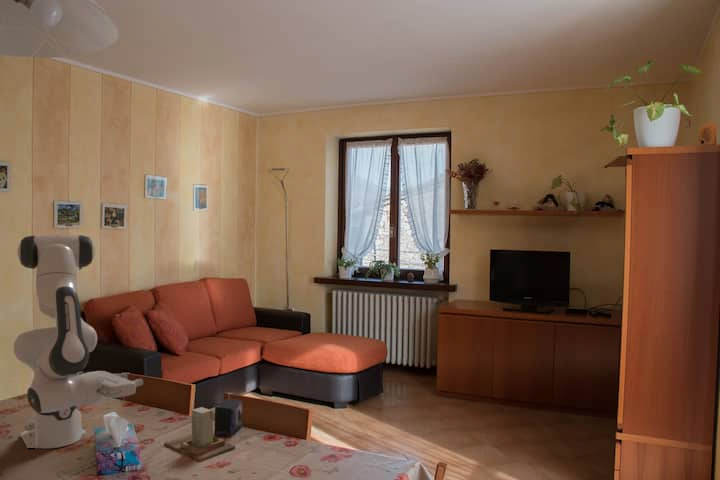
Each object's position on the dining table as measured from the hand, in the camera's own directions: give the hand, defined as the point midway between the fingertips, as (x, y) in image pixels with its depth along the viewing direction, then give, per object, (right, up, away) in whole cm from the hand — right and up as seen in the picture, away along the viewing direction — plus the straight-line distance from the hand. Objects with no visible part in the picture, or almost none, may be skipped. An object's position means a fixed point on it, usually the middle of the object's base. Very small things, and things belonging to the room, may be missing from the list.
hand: (134, 378), depth 181 cm
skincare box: (+18, -25, +11) cm, 33 cm away
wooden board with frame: (+17, -26, +13) cm, 33 cm away
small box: (+24, -26, +27) cm, 44 cm away
